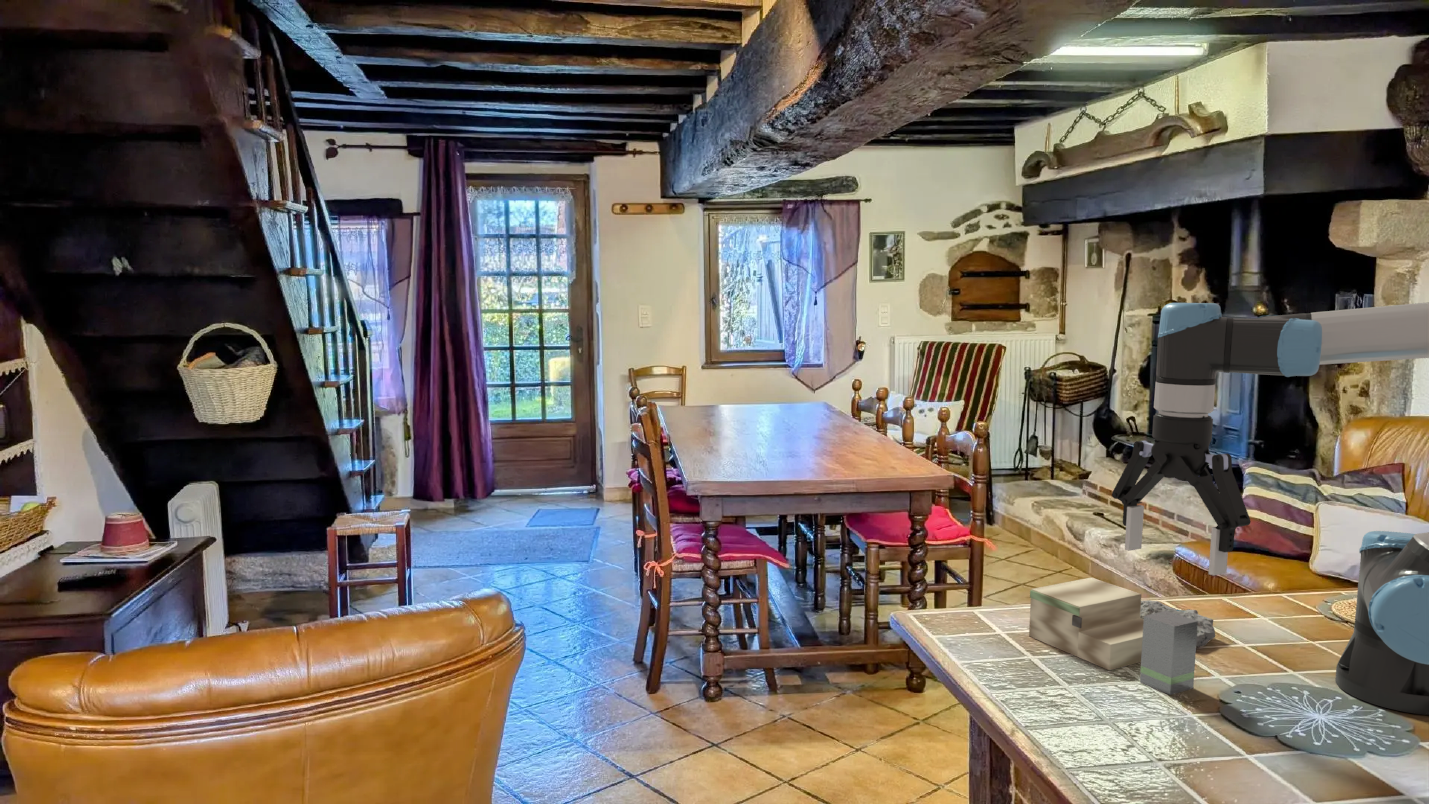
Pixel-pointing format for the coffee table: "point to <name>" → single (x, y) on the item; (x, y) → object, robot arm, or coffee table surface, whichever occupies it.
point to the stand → (1089, 621)
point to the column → (1168, 652)
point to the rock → (1204, 624)
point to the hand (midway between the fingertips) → (1173, 561)
